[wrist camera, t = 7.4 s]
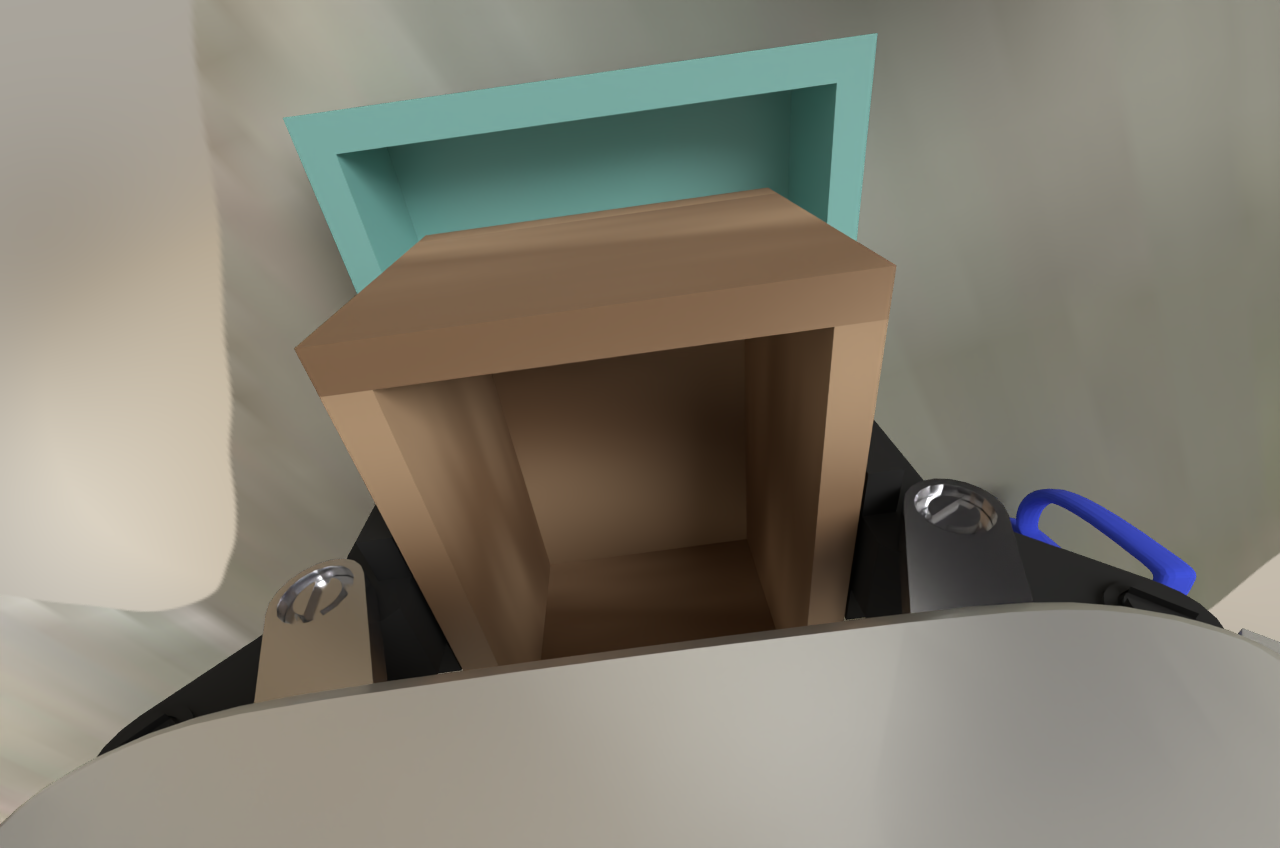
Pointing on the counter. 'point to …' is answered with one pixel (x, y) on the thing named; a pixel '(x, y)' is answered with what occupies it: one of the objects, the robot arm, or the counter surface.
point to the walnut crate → (617, 421)
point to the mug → (1124, 534)
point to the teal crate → (594, 147)
